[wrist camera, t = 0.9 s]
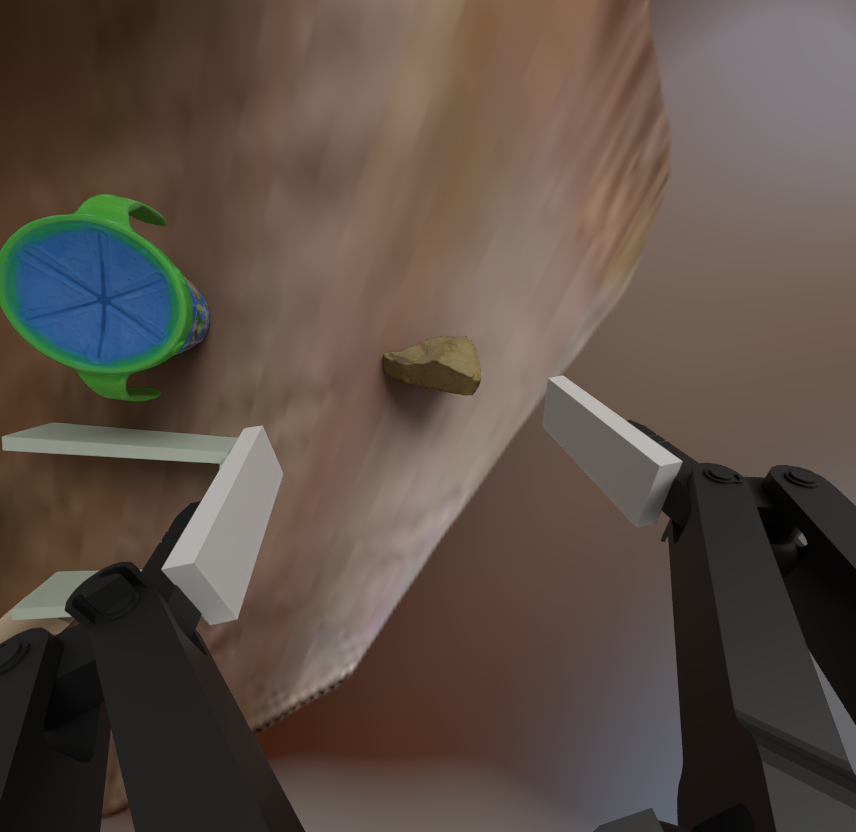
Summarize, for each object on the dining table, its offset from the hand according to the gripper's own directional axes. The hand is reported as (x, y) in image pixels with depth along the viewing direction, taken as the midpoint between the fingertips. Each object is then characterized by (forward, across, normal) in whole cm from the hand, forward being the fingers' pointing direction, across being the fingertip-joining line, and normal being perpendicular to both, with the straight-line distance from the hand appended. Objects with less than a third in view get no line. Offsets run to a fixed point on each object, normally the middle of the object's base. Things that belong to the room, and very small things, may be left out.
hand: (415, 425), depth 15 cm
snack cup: (+24, -21, +3) cm, 32 cm away
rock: (+25, +4, -6) cm, 26 cm away
